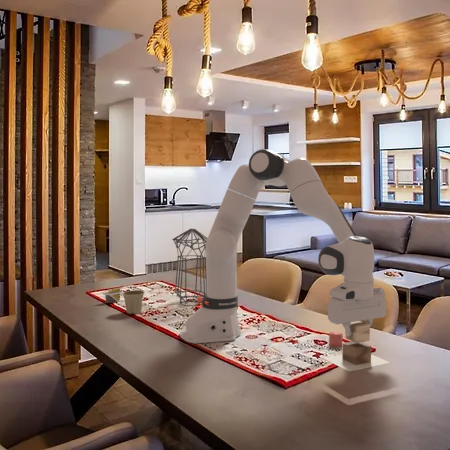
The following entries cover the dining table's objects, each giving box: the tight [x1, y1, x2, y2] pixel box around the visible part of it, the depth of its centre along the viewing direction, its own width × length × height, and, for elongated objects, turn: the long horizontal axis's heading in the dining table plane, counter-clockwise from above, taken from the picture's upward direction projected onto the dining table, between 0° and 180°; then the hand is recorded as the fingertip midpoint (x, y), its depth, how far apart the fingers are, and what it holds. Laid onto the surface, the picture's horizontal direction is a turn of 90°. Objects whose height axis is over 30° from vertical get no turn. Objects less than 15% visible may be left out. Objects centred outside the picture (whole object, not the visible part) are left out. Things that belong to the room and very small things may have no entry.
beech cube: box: [345, 321, 371, 343], centre depth 150 cm, size 5×5×5 cm
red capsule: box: [328, 331, 343, 348], centre depth 166 cm, size 4×4×5 cm
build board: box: [323, 353, 391, 373], centre depth 151 cm, size 16×12×1 cm
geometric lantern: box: [172, 228, 208, 307], centre depth 226 cm, size 16×16×35 cm
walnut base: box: [341, 341, 372, 365], centre depth 150 cm, size 6×6×5 cm
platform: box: [102, 287, 124, 304], centre depth 230 cm, size 12×18×7 cm, turn 139°
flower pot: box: [121, 289, 145, 315], centre depth 211 cm, size 9×9×9 cm
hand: (357, 334), depth 150 cm, fingers closed on beech cube, 5 cm apart
